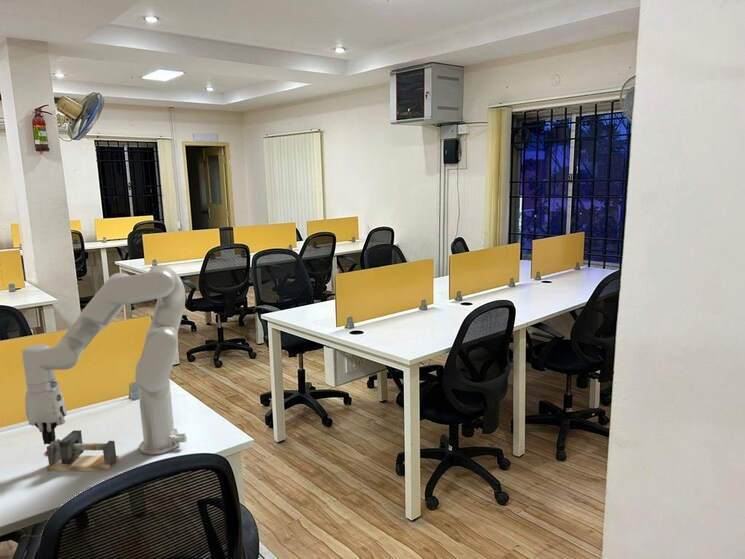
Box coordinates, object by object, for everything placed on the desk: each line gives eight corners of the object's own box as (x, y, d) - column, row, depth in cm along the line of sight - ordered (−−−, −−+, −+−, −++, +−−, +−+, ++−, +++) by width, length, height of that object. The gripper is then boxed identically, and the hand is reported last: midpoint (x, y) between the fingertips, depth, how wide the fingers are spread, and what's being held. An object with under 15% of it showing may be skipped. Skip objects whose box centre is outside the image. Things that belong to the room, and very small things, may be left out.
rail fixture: (119, 459, 171) (116, 438, 170) (107, 470, 164) (105, 449, 163) (60, 459, 172) (57, 438, 171) (46, 471, 165) (43, 449, 164)
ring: (83, 451, 172) (80, 430, 170) (69, 464, 164) (66, 442, 163) (76, 451, 172) (73, 430, 170) (61, 464, 164) (58, 442, 163)
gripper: (73, 380, 167) (80, 436, 171) (25, 381, 168) (34, 436, 171) (58, 390, 160) (66, 448, 163) (8, 390, 160) (17, 448, 164)
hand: (49, 442), depth 167 cm, fingers closed
